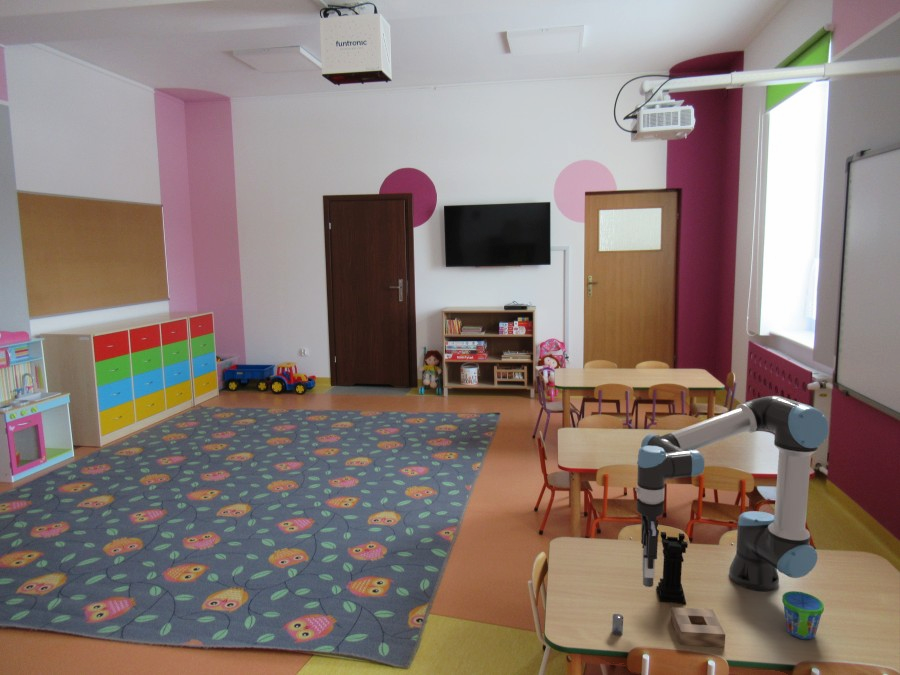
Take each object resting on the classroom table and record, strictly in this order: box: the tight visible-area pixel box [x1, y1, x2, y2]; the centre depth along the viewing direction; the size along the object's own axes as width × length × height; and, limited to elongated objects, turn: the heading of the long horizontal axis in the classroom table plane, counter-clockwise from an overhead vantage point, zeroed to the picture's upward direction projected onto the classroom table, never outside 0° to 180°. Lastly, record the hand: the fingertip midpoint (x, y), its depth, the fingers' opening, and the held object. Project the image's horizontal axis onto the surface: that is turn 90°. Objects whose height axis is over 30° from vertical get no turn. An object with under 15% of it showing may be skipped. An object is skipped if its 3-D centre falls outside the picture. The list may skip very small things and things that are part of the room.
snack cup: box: [781, 590, 825, 640], centre depth 184 cm, size 16×11×10 cm
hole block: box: [670, 607, 726, 648], centre depth 185 cm, size 12×12×4 cm
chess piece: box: [656, 531, 689, 605], centre depth 202 cm, size 8×8×20 cm
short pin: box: [611, 613, 624, 637], centre depth 185 cm, size 3×3×5 cm
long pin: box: [642, 544, 654, 588], centre depth 188 cm, size 3×3×12 cm
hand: (648, 573), depth 188 cm, fingers closed on long pin, 3 cm apart
